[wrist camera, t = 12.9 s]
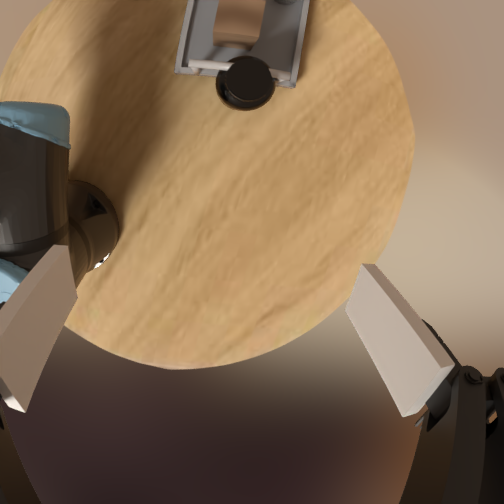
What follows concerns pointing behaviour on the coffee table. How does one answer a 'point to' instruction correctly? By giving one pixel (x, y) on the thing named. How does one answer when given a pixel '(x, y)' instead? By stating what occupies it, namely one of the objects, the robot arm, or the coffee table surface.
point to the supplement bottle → (245, 84)
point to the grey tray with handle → (266, 48)
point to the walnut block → (238, 23)
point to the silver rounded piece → (285, 1)
